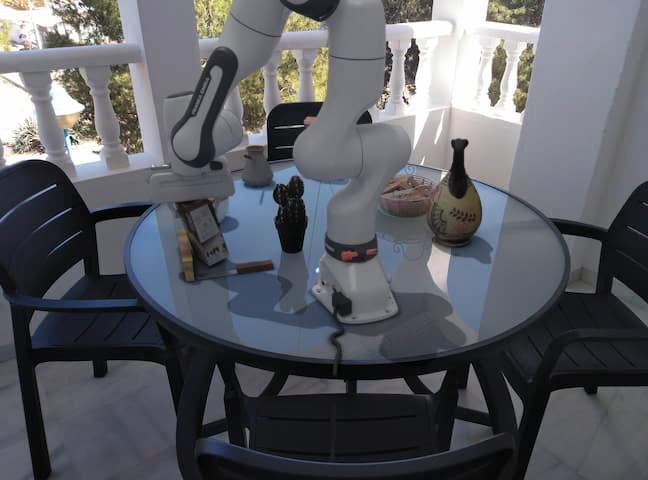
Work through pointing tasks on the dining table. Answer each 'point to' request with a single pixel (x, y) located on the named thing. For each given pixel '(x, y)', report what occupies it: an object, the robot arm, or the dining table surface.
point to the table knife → (240, 269)
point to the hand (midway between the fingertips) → (196, 215)
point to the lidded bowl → (221, 208)
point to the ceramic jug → (455, 203)
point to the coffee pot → (256, 167)
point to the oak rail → (186, 255)
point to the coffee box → (203, 230)
